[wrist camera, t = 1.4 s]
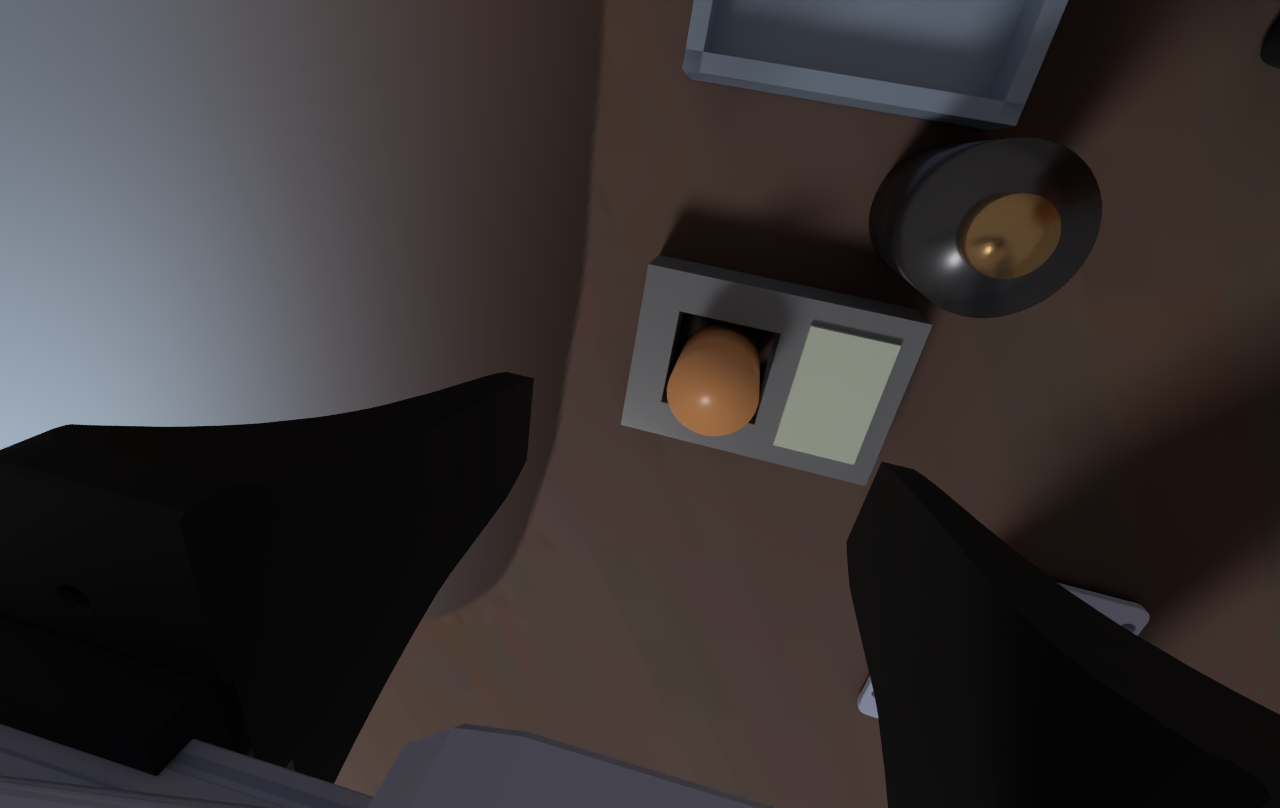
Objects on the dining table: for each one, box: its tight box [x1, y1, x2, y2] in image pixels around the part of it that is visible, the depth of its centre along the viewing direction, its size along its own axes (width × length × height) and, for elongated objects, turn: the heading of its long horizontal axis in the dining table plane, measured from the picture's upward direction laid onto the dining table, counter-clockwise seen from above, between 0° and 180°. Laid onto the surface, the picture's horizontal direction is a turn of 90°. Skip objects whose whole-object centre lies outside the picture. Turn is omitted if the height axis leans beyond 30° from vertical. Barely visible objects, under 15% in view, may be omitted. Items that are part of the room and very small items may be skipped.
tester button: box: [667, 324, 760, 436], centre depth 18 cm, size 3×3×3 cm
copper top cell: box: [869, 137, 1102, 318], centre depth 15 cm, size 4×4×6 cm
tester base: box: [621, 255, 933, 486], centre depth 19 cm, size 9×6×2 cm, turn 80°
